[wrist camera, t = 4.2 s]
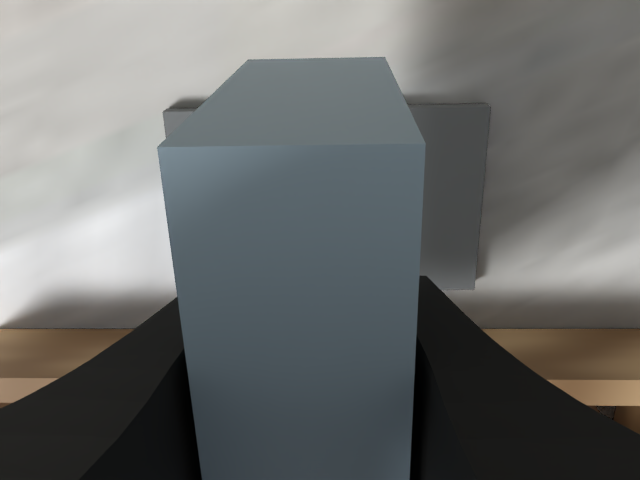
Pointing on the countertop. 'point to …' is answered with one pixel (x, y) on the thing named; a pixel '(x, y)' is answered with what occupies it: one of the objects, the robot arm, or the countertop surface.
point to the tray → (525, 344)
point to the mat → (439, 187)
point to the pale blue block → (299, 269)
